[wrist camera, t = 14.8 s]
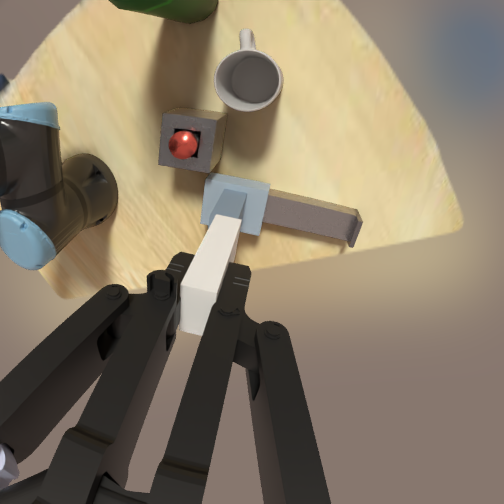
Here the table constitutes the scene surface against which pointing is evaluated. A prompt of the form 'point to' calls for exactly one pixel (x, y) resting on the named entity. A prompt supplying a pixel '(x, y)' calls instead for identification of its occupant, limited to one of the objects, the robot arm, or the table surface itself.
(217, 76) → the mug
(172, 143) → the plunger
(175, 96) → the table surface
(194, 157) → the grey cube box
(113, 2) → the bottle
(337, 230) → the rail
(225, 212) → the carriage
